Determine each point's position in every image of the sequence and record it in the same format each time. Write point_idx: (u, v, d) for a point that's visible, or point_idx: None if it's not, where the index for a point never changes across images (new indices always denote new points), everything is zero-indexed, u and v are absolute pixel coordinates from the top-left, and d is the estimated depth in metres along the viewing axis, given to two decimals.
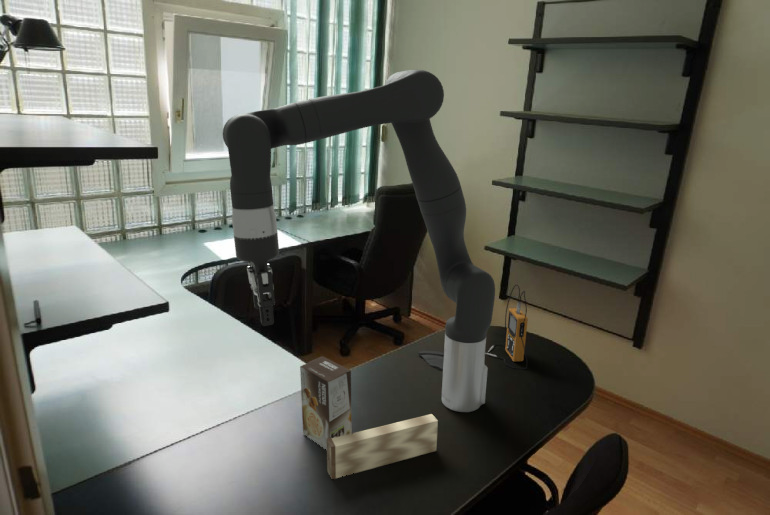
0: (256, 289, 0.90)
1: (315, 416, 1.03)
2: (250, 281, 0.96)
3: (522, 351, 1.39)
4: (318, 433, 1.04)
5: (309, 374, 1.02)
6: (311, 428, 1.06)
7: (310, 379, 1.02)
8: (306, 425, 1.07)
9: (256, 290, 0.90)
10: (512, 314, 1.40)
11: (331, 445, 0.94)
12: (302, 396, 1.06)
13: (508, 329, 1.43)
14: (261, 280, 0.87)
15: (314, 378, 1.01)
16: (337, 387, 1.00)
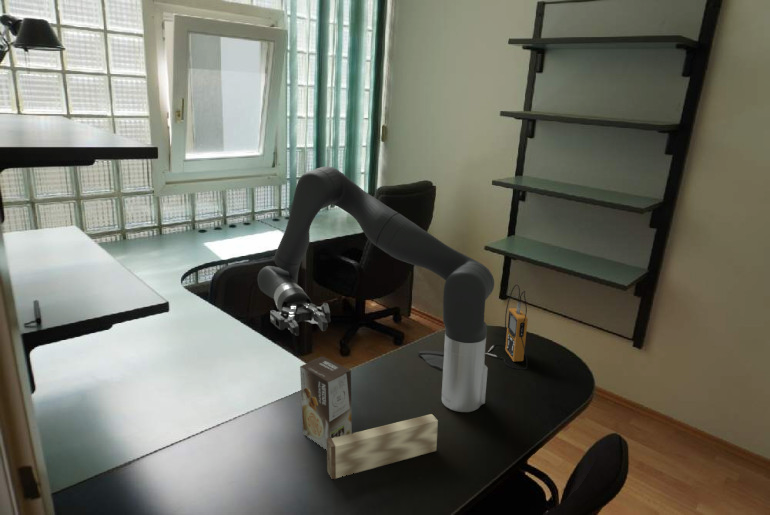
0: None
1: (315, 416, 1.03)
2: (311, 322, 1.18)
3: (522, 351, 1.39)
4: (318, 433, 1.04)
5: (309, 374, 1.02)
6: (311, 428, 1.06)
7: (310, 379, 1.02)
8: (306, 425, 1.07)
9: None
10: (512, 314, 1.40)
11: (331, 445, 0.94)
12: (302, 396, 1.06)
13: (508, 329, 1.43)
14: (271, 320, 1.17)
15: (314, 378, 1.01)
16: (337, 387, 1.00)
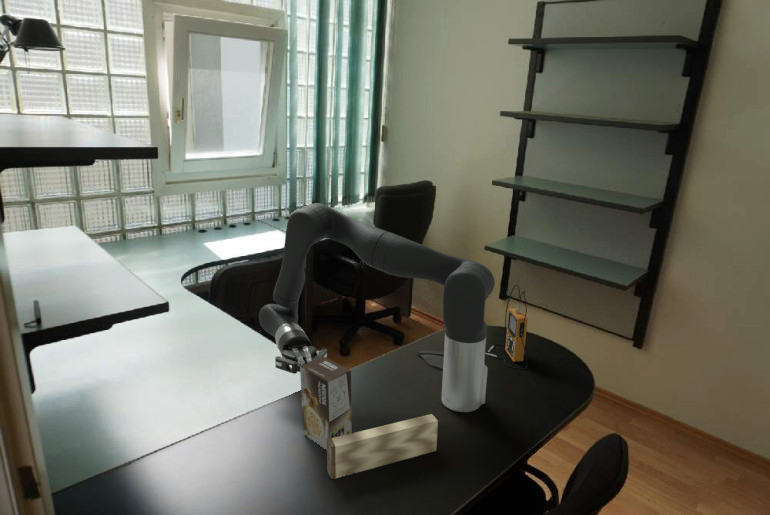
0: None
1: (315, 416, 1.03)
2: None
3: (522, 351, 1.39)
4: (318, 433, 1.04)
5: (309, 375, 1.02)
6: (311, 428, 1.06)
7: (310, 379, 1.02)
8: (306, 425, 1.07)
9: None
10: (512, 314, 1.40)
11: (331, 445, 0.94)
12: (302, 396, 1.06)
13: (508, 329, 1.43)
14: (278, 366, 1.19)
15: (314, 378, 1.01)
16: (337, 387, 1.00)
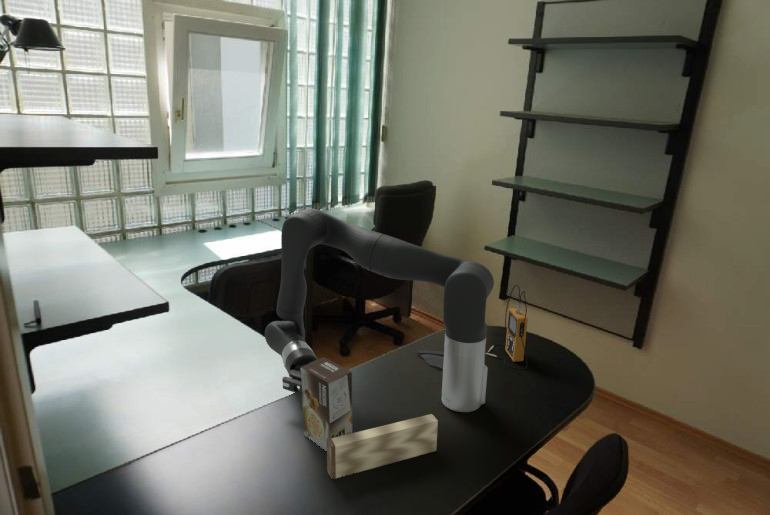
0: None
1: (316, 417, 1.03)
2: None
3: (522, 351, 1.39)
4: (318, 434, 1.04)
5: (310, 375, 1.02)
6: (311, 430, 1.05)
7: (311, 380, 1.01)
8: (306, 426, 1.06)
9: None
10: (512, 314, 1.40)
11: (331, 445, 0.94)
12: (303, 397, 1.05)
13: (508, 329, 1.43)
14: (285, 387, 1.15)
15: (314, 379, 1.01)
16: (337, 388, 1.00)
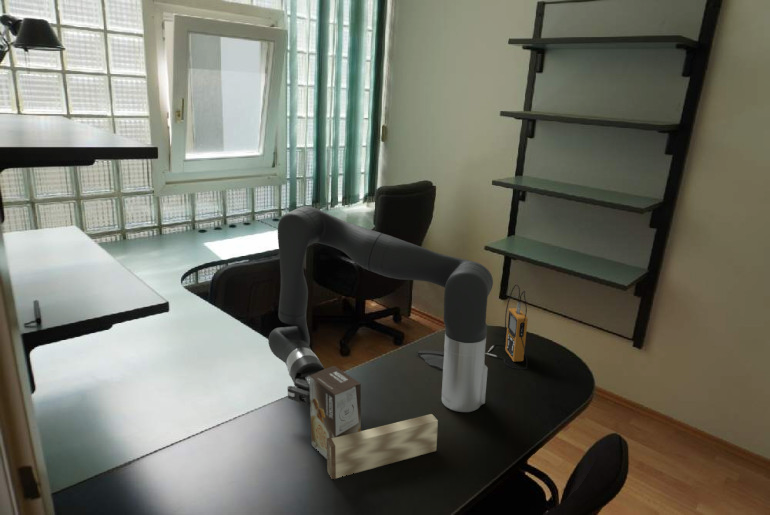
0: None
1: (323, 428, 0.99)
2: None
3: (522, 351, 1.39)
4: (325, 446, 1.00)
5: (317, 385, 0.98)
6: (318, 440, 1.02)
7: (318, 390, 0.98)
8: (314, 437, 1.03)
9: None
10: (512, 314, 1.40)
11: (331, 445, 0.94)
12: (311, 406, 1.02)
13: (508, 329, 1.43)
14: (291, 396, 1.11)
15: (322, 390, 0.97)
16: (345, 400, 0.96)
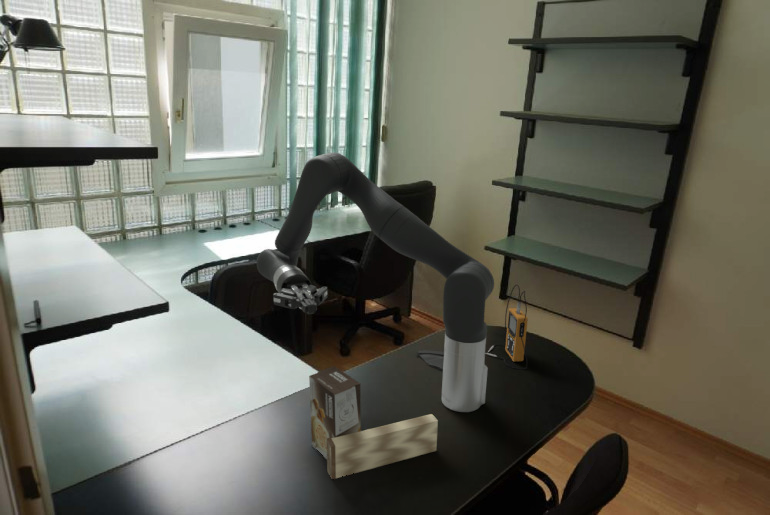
0: None
1: (322, 428, 1.00)
2: None
3: (522, 351, 1.39)
4: (325, 446, 1.00)
5: (317, 385, 0.98)
6: (318, 441, 1.02)
7: (318, 390, 0.98)
8: (314, 437, 1.03)
9: None
10: (512, 314, 1.40)
11: (331, 445, 0.94)
12: (311, 406, 1.02)
13: (508, 329, 1.43)
14: (276, 302, 1.14)
15: (321, 390, 0.97)
16: (344, 400, 0.96)
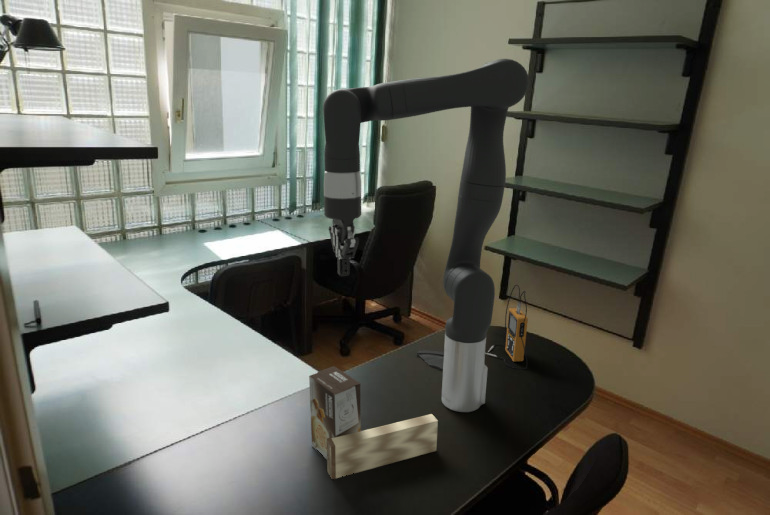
0: (339, 246, 1.05)
1: (322, 428, 1.00)
2: (335, 242, 1.07)
3: (522, 351, 1.39)
4: (325, 446, 1.00)
5: (317, 385, 0.98)
6: (318, 441, 1.02)
7: (318, 390, 0.98)
8: (314, 437, 1.03)
9: (339, 247, 1.05)
10: (512, 314, 1.40)
11: (331, 445, 0.94)
12: (311, 406, 1.02)
13: (508, 329, 1.43)
14: (349, 245, 1.02)
15: (321, 389, 0.97)
16: (344, 400, 0.96)
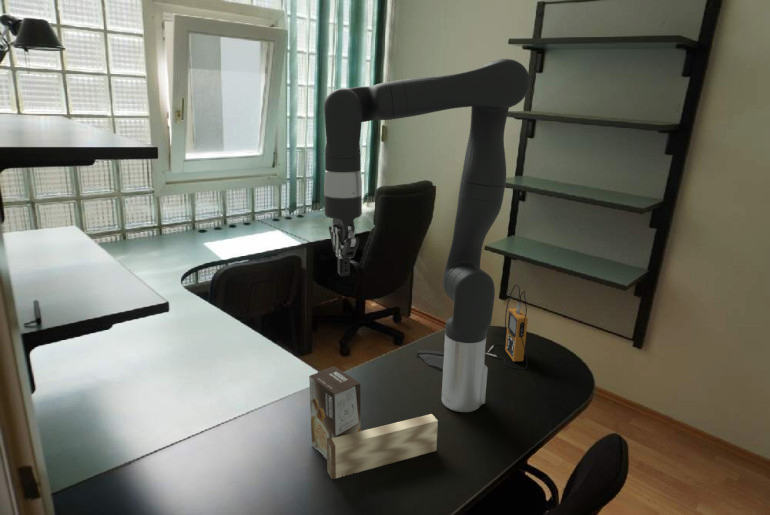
0: (340, 246, 1.05)
1: (322, 428, 1.00)
2: (335, 241, 1.07)
3: (522, 351, 1.39)
4: (325, 446, 1.00)
5: (317, 385, 0.98)
6: (318, 441, 1.02)
7: (318, 390, 0.98)
8: (314, 437, 1.03)
9: (340, 247, 1.05)
10: (512, 314, 1.40)
11: (331, 445, 0.94)
12: (311, 406, 1.02)
13: (508, 329, 1.43)
14: (349, 245, 1.01)
15: (321, 389, 0.97)
16: (344, 400, 0.96)
